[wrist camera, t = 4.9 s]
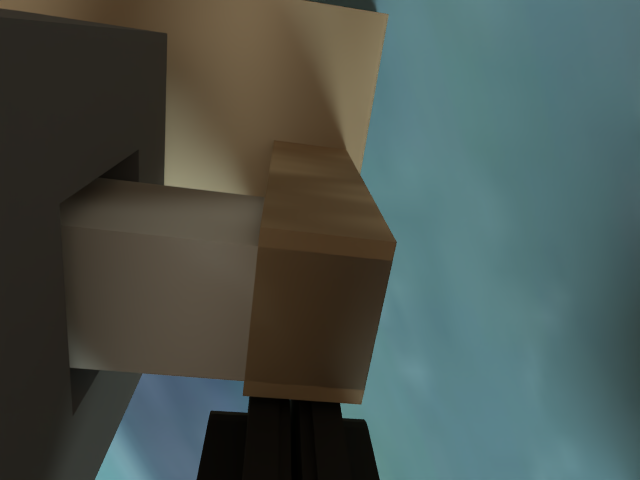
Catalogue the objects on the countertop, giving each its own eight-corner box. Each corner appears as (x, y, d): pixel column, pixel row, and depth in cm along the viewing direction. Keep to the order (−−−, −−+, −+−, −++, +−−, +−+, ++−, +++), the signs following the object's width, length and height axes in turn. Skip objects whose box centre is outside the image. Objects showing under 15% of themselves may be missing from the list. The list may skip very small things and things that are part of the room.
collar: (167, 33, 10) (-96, 9, 3) (161, 332, 13) (11, 665, 6) (21, 10, 10) (-622, -72, 3) (46, 322, 13) (-253, 661, 6)
